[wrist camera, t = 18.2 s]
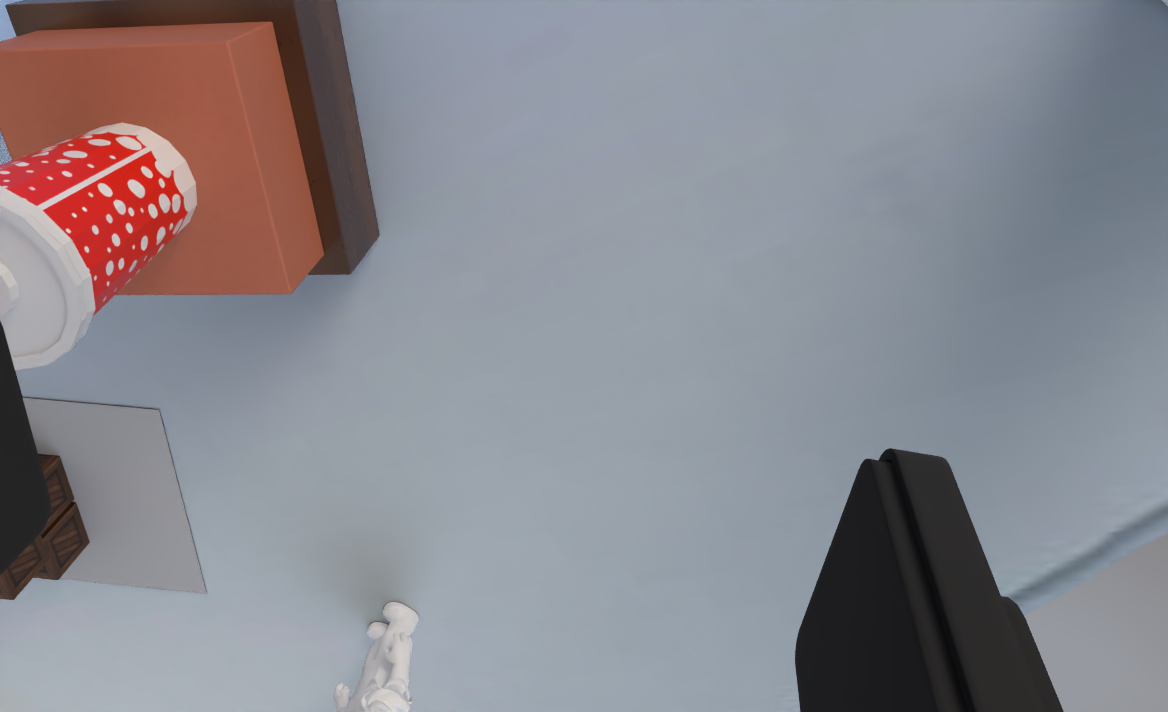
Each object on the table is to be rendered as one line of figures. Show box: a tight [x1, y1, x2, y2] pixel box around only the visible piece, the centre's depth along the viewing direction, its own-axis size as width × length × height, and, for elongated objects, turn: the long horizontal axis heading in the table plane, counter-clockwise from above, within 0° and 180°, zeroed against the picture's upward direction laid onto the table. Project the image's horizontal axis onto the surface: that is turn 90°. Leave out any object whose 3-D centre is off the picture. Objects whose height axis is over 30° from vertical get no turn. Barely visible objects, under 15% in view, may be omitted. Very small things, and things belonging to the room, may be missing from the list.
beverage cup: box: [0, 123, 197, 370], centre depth 28 cm, size 6×6×14 cm
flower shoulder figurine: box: [333, 602, 419, 712], centre depth 53 cm, size 9×4×12 cm, turn 143°
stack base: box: [6, 0, 379, 275], centre depth 39 cm, size 12×12×4 cm
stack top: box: [0, 21, 324, 295], centre depth 35 cm, size 10×10×4 cm
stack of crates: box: [0, 398, 207, 600], centre depth 52 cm, size 15×15×7 cm
